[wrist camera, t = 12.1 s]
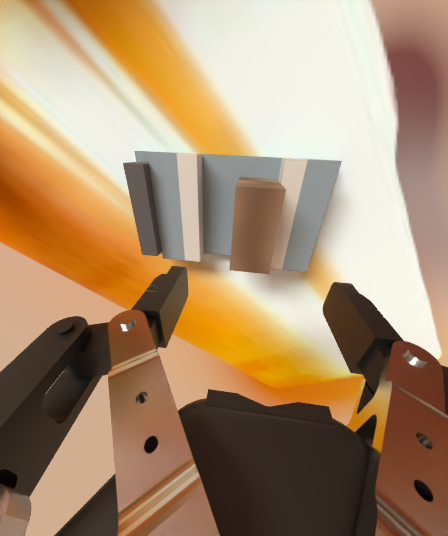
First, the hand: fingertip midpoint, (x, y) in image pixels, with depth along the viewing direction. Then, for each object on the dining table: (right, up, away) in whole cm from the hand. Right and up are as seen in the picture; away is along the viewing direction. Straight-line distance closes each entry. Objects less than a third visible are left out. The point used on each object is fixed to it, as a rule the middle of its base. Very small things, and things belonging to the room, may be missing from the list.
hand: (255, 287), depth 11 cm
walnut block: (+2, +8, +12) cm, 15 cm away
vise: (-1, +9, +14) cm, 16 cm away
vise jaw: (-8, +9, +13) cm, 17 cm away
